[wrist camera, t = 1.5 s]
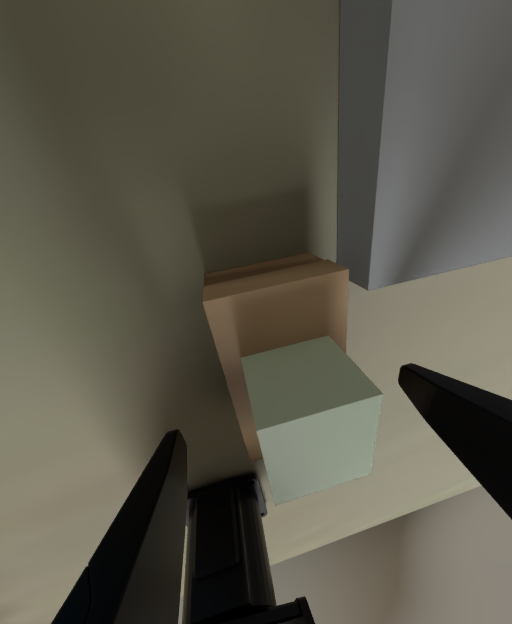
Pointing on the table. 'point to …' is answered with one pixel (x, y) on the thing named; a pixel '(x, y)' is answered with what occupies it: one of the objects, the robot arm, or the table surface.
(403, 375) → the robot arm
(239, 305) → the brown cardboard box
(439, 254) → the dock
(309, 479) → the pale green block
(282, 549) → the table surface
